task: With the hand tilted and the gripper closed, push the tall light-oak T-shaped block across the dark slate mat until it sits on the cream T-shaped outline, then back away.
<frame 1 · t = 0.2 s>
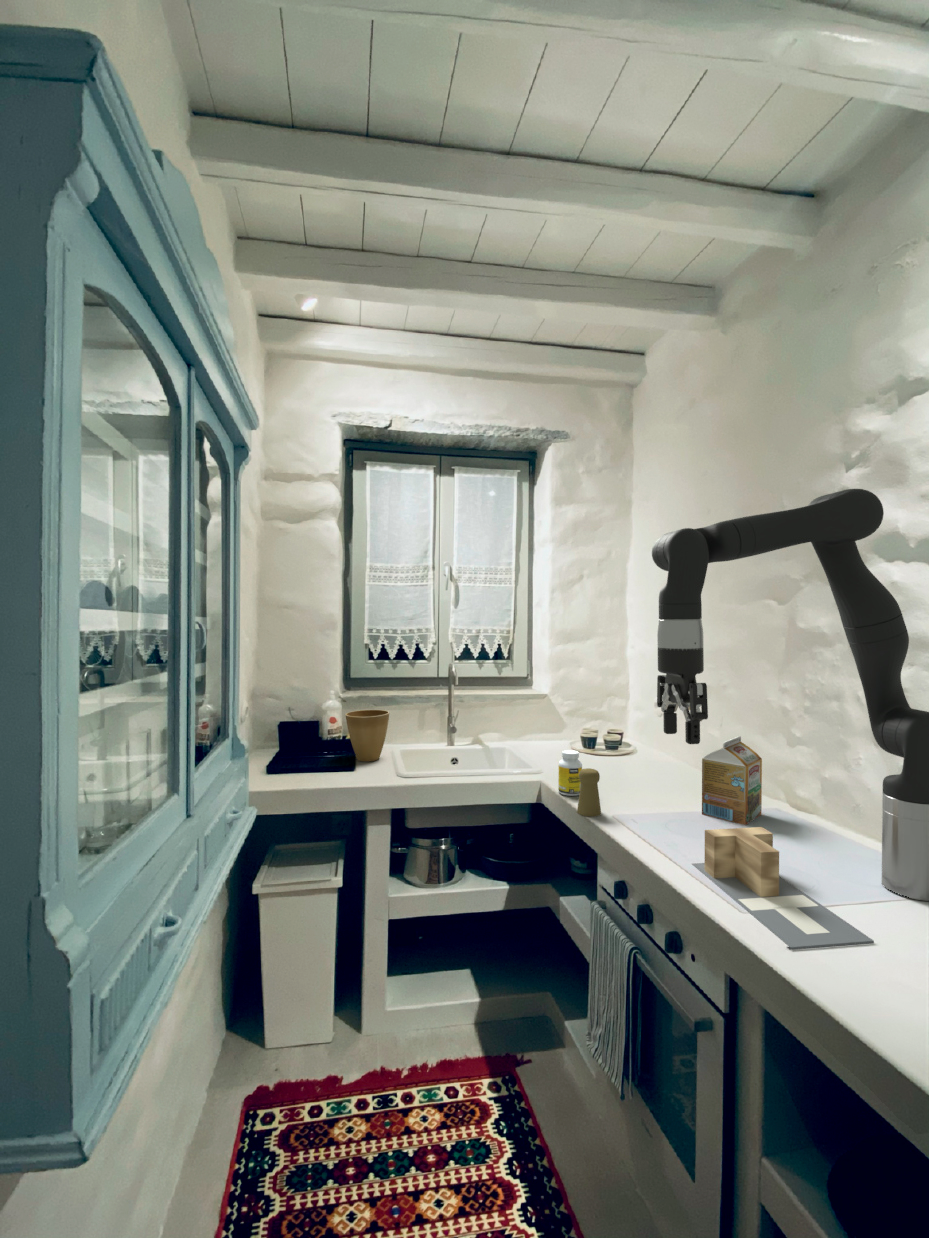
hand: (681, 738, 105), 29 cm above the counter, tool pointing down, fingers open, 8 cm apart
tan rounded upright piece: (589, 813, 152), on the counter
slate mat: (770, 899, 107), on the counter
oak T block: (750, 881, 113), resting on slate mat
milk carton: (731, 815, 151), on the counter
plant pot: (367, 759, 207), on the counter
pill bottle: (570, 793, 168), on the counter
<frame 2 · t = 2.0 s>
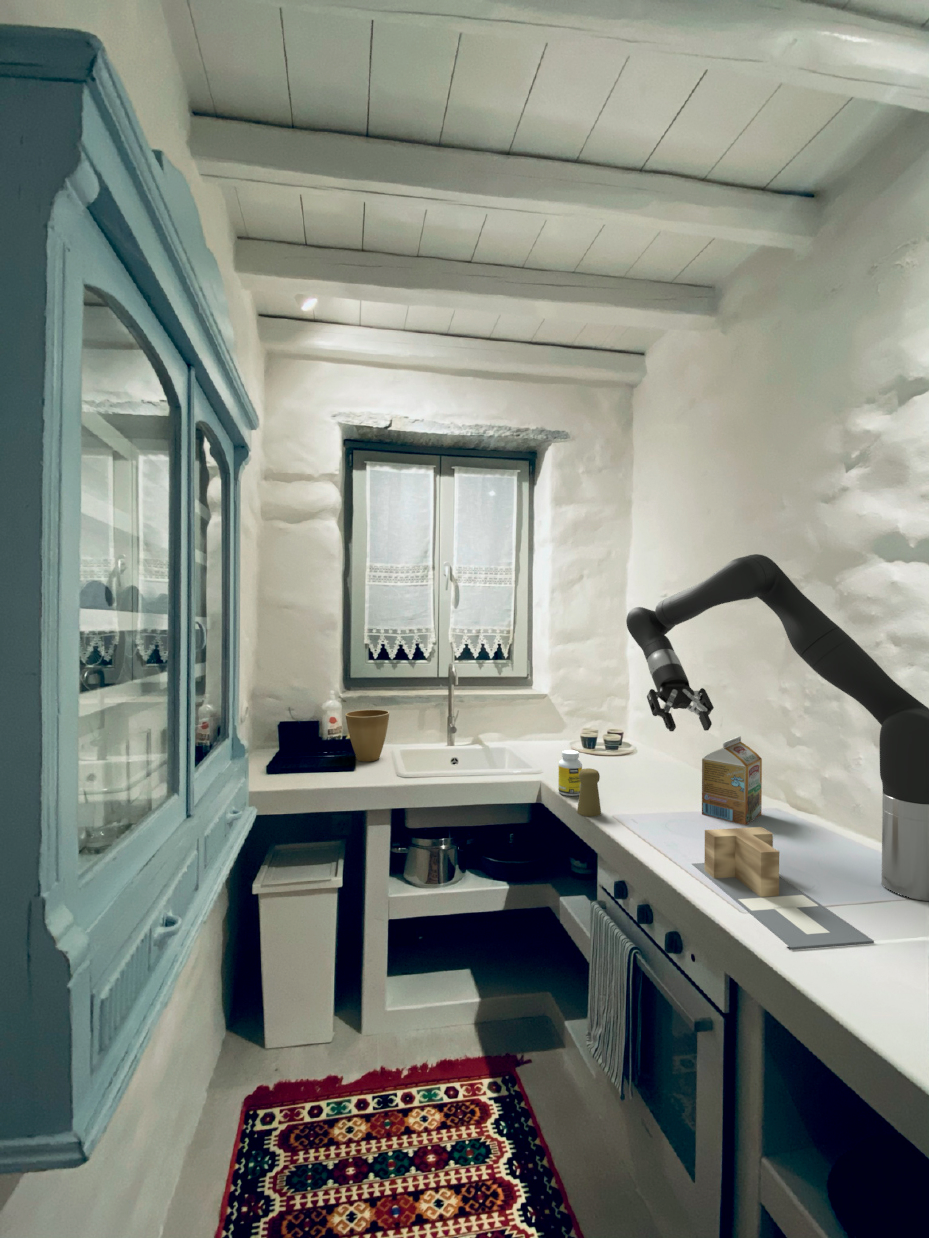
hand: (690, 729, 135), 25 cm above the counter, tool tilted 45°, fingers open, 8 cm apart
nothing on the counter moved.
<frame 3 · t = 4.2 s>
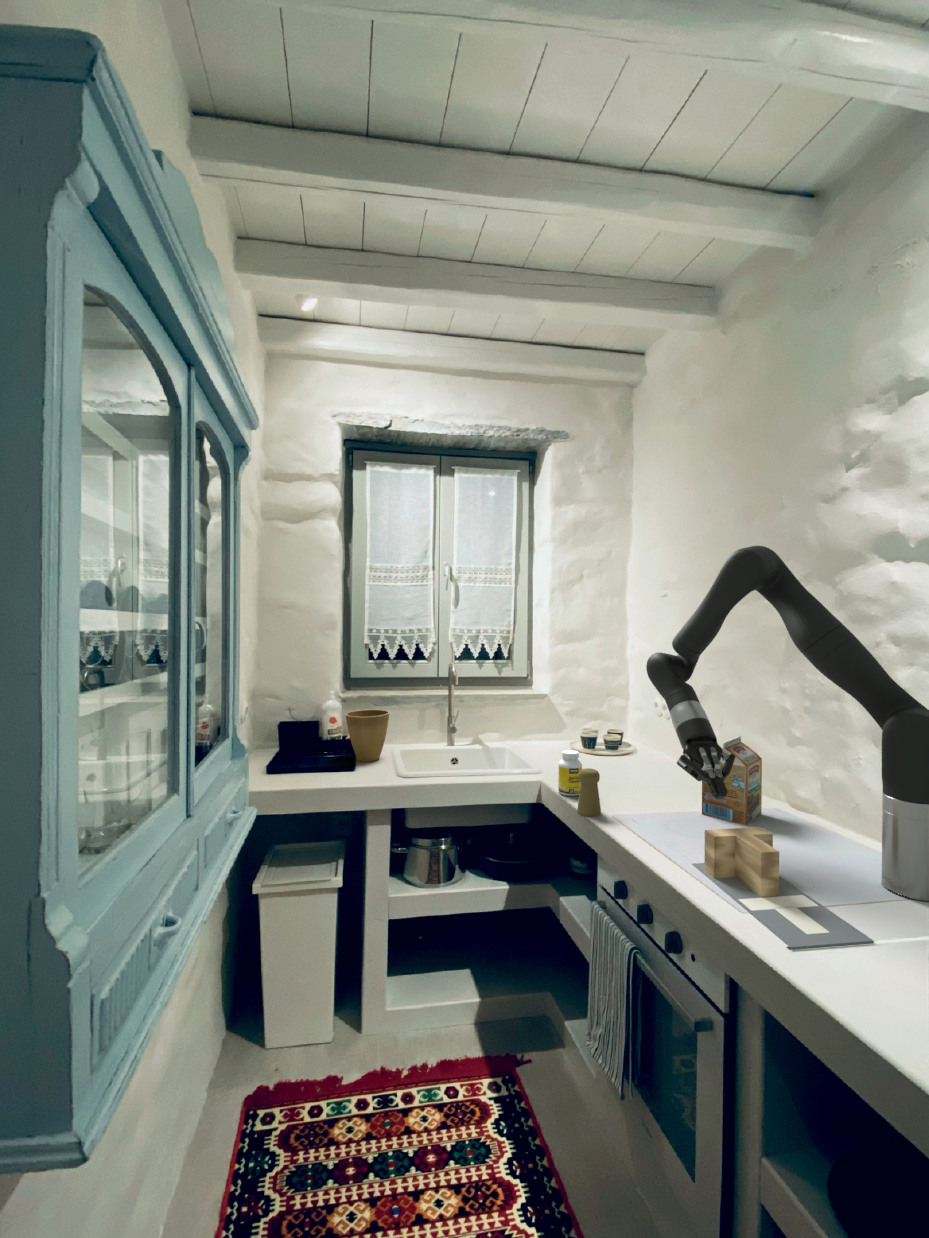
hand: (721, 797, 123), 13 cm above the counter, tool tilted 45°, fingers closed
nothing on the counter moved.
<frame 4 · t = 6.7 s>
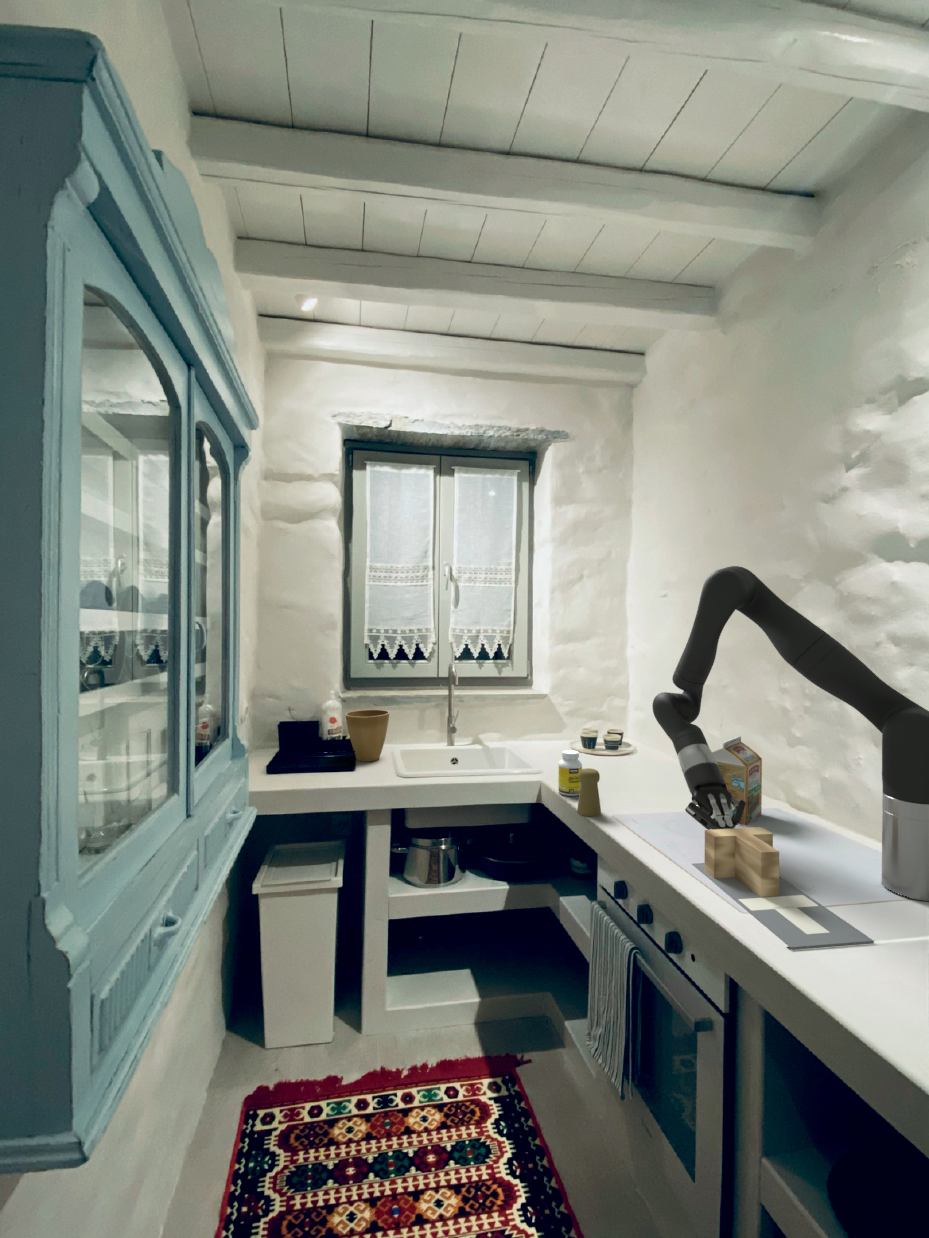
hand: (732, 847, 119), 4 cm above the counter, tool tilted 45°, fingers closed
oak T block: (750, 881, 113), resting on slate mat, touching gripper
everything else where it was.
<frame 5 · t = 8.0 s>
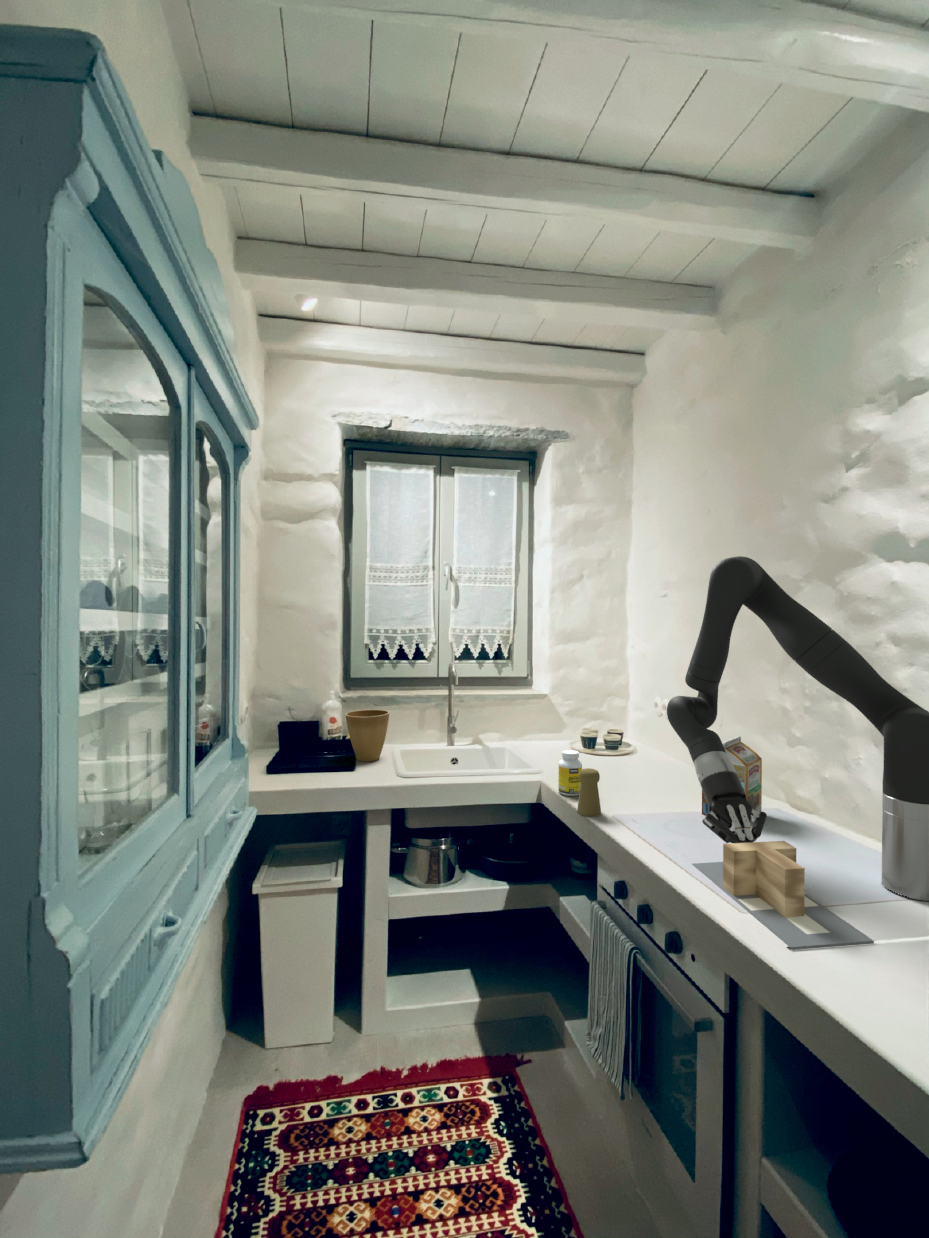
hand: (752, 862, 112), 4 cm above the counter, tool tilted 45°, fingers closed
oak T block: (772, 899, 106), resting on slate mat, touching gripper
everything else where it was.
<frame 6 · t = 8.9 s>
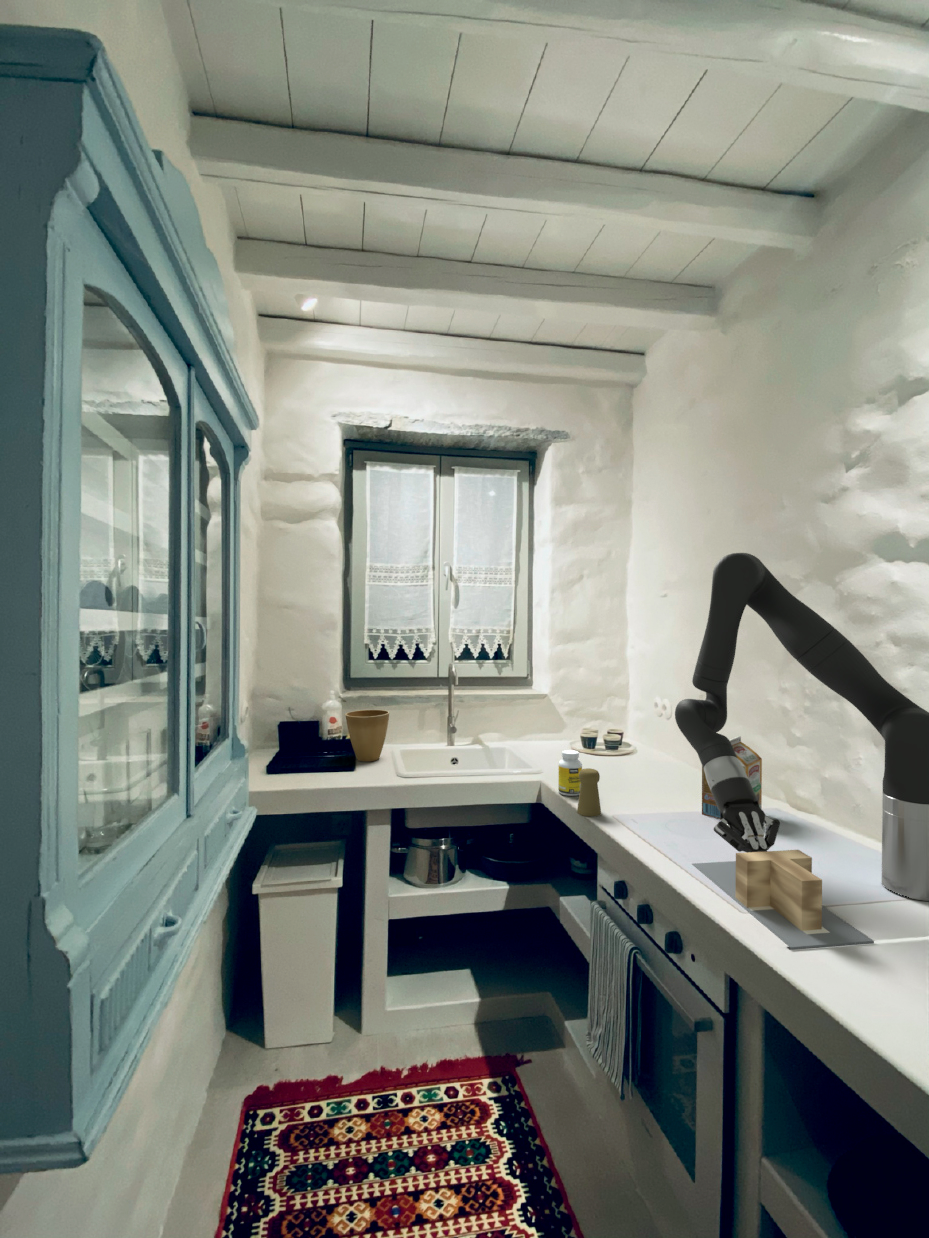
hand: (766, 872, 108), 4 cm above the counter, tool tilted 45°, fingers closed
oak T block: (787, 911, 102), resting on slate mat, touching gripper
everything else where it was.
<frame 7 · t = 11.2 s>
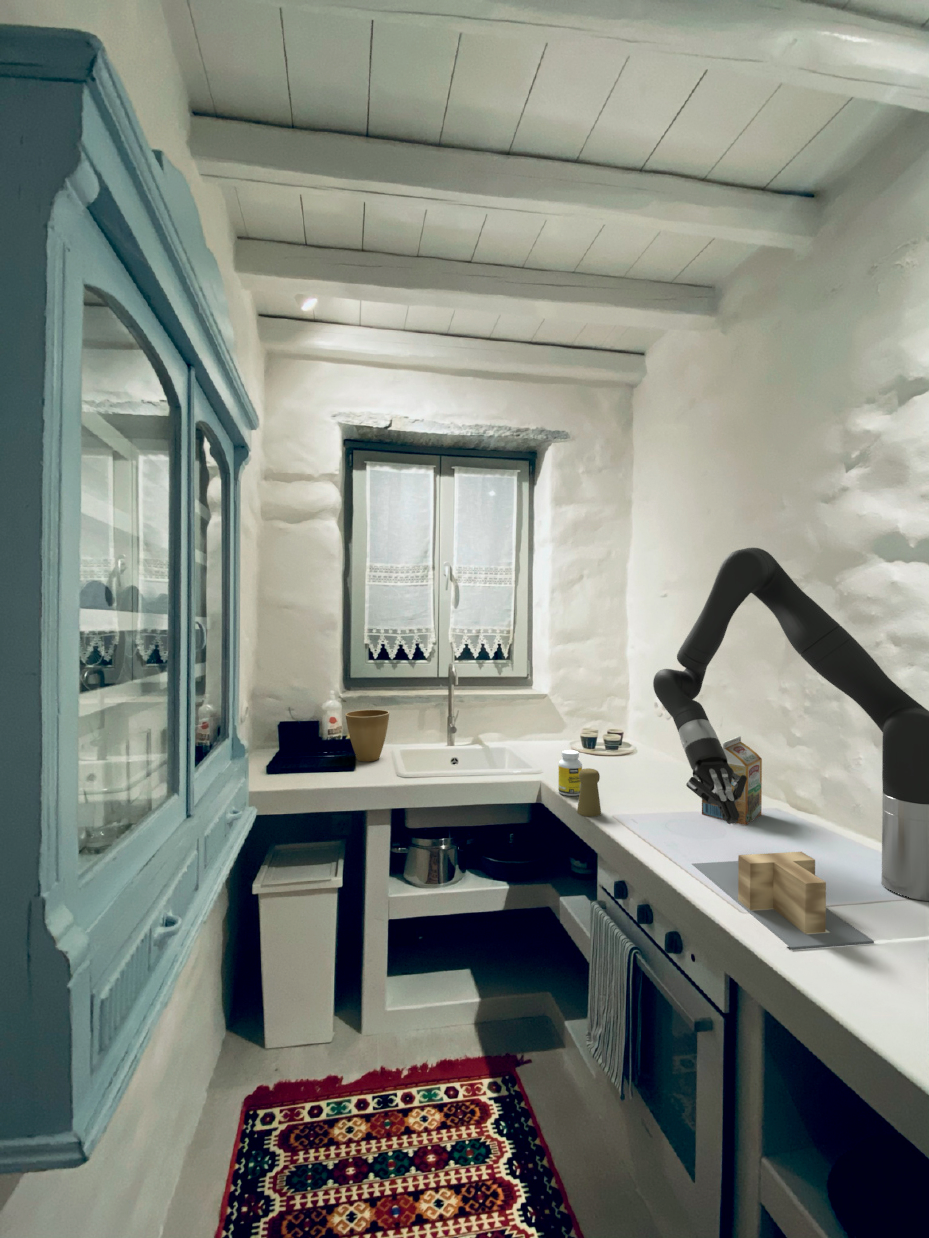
hand: (733, 821, 118), 10 cm above the counter, tool tilted 45°, fingers closed
oak T block: (791, 914, 101), resting on slate mat
everything else where it was.
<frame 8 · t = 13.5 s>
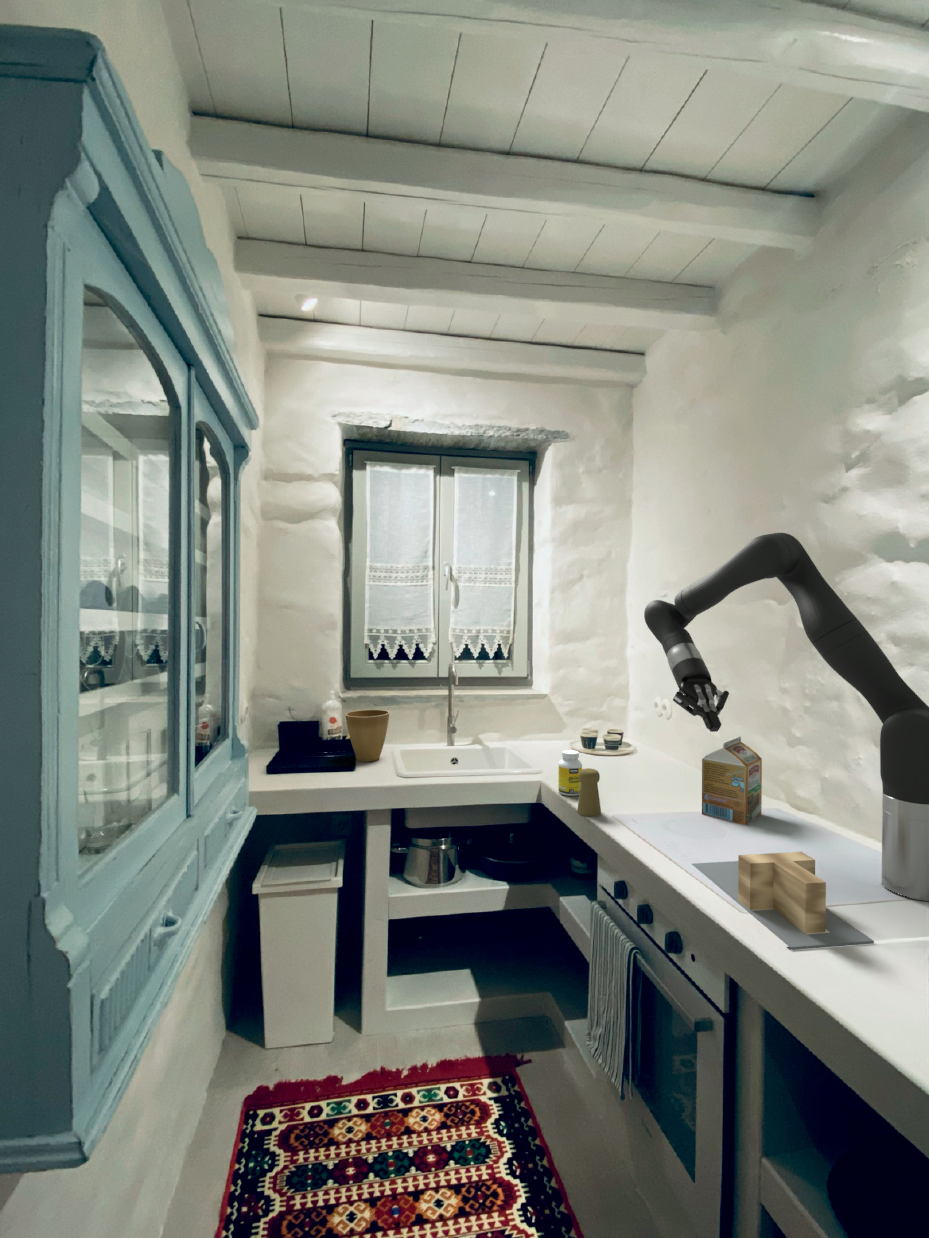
hand: (715, 729, 128), 26 cm above the counter, tool tilted 45°, fingers closed
nothing on the counter moved.
at the end: oak T block 0.6 cm from the target spot, resting on slate mat; oak T block tilted 0°; oak T block moved 12.1 cm from its start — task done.
